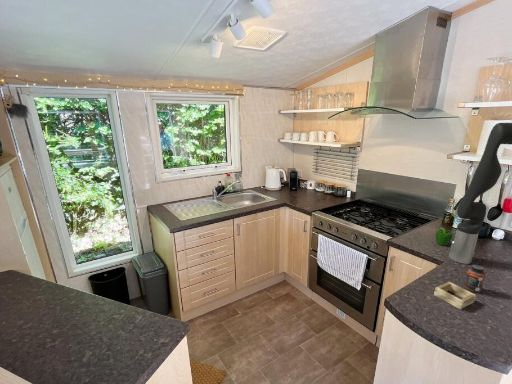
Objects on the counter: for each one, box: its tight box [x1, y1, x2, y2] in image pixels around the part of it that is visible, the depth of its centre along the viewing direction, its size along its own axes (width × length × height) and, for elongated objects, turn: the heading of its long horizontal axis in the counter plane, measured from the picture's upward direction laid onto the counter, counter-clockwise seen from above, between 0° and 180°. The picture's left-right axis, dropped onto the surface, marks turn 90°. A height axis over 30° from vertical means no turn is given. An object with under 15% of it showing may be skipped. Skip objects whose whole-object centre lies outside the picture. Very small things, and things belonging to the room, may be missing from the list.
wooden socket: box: [433, 281, 477, 310], centre depth 111 cm, size 10×10×4 cm
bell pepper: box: [435, 227, 454, 246], centre depth 161 cm, size 8×8×10 cm
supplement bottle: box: [463, 264, 486, 293], centre depth 116 cm, size 6×6×11 cm
